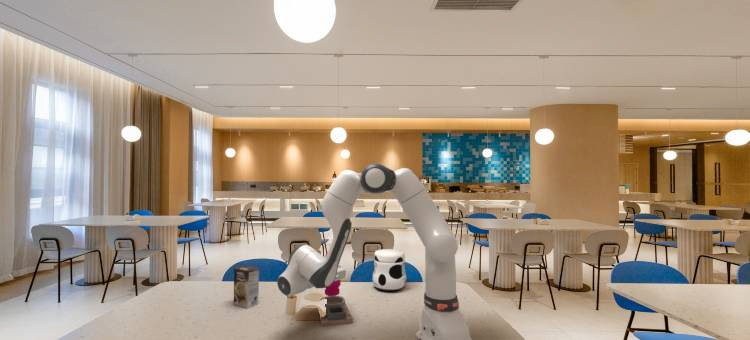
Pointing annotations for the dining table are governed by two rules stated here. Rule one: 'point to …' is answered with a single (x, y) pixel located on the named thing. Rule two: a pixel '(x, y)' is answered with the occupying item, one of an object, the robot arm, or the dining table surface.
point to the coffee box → (246, 286)
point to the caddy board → (336, 311)
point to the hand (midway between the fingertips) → (333, 266)
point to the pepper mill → (332, 287)
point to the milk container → (389, 270)
